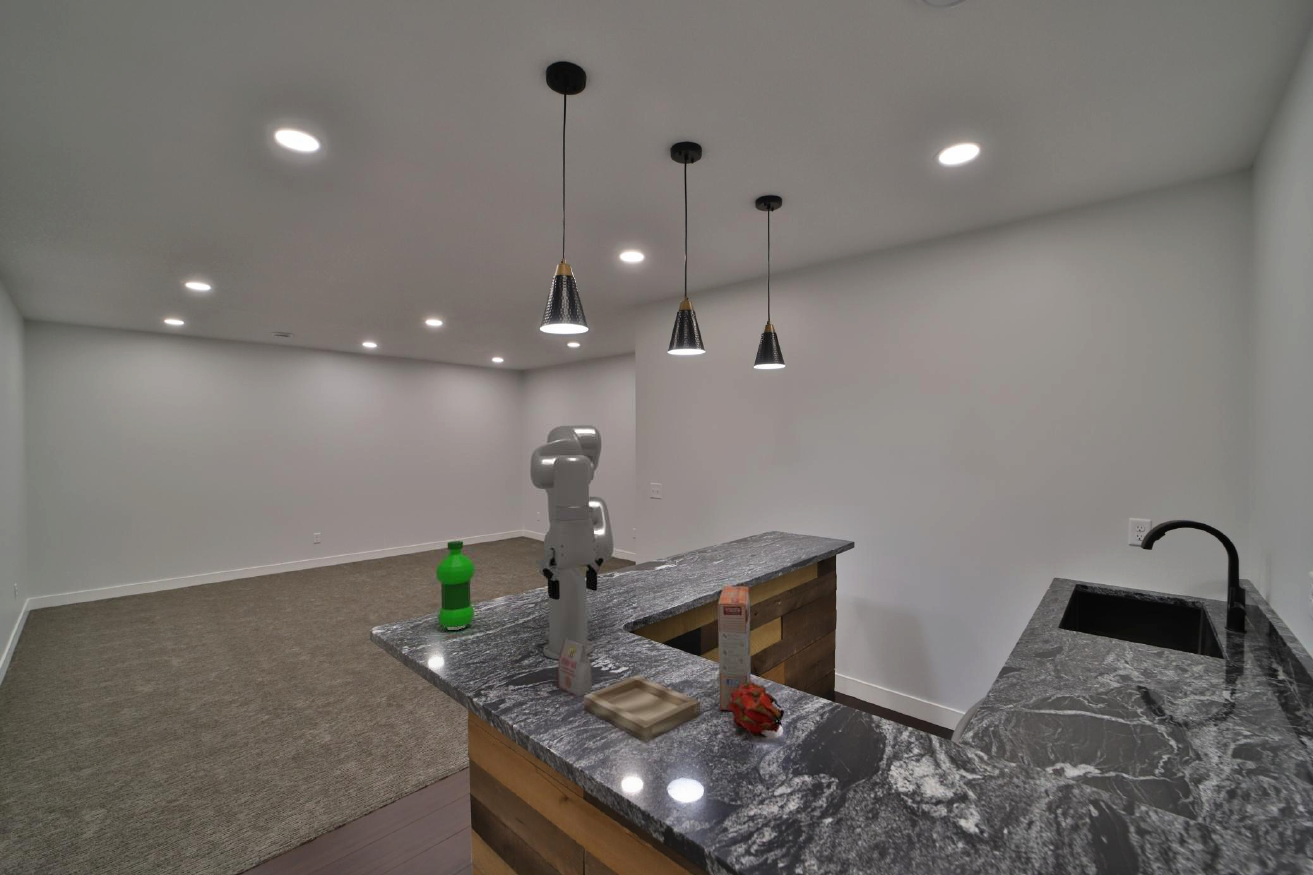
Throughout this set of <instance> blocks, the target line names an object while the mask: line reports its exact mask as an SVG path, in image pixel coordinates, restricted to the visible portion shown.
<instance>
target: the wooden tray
mask: <svg viewBox="0 0 1313 875" xmlns="http://www.w3.org/2000/svg"><path fill="white" fill-rule="evenodd" d="M583 700H584V704H583V705H584V710H586V711H587V712H589V713H591V714H593V715H595V716H596V717H598V718H601V719H602V720H603V721H606V722H607V723H610V724H612V725H613V726H615V727H617V728H618V729H620V730H622V731H624V732H626V733H628V734H629V735H631V736H633V737H635V738H637V739H638V740H640V741H643V742H644V743H647V742H650V741H651V740H653V739H656V738H657V737H659V736H662V735H664V734H665V733H667V732H669V731H671V730H673V729H675V728H677V727H679V726H681V725H683V724H685V723H687V722H689V721H691V720H693V719H695V718H698V716H700V715H701V701H699V700H697V699H695V698H692V697H690V696H689V695H685V694H682V693H681V692H678V691H676V690H674V689H672V688H670V687H669V688H668V687H667V686H663V685H662V684H660V683H657V682H655V681H653V680H650V679H648V678H645V677H643V676H640V675H634V676H633V677H629V678H627V679H624V680H622V681H619V682H616V683H615V684H611V685H609V686H606V687H604V688H602V689H599V690H597V691H594V692H591V693H587V694H585V695H584V696H583Z"/></svg>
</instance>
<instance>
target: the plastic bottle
mask: <svg viewBox="0 0 1313 875" xmlns="http://www.w3.org/2000/svg"><path fill="white" fill-rule="evenodd" d="M463 548H464V541H461V540H460V541H459V540H457V541H456V540H455V541H449V542H447V550H449V554H448V555H447V556H446V557H445V558H444V559H443V560H442V561H441V562H440V563H439V564H438V565H437V568H436V570H435V574H436V579H437V580H438V581H439V583H440V584H441V585H440V586H441V590H440V592H441V593H440V594H441V608H440V610H439V613H440V614H439V613H438V618H437V619H438V622H439V624H440V625H441V626H442V625H443V626H445V627H458V626H463V625H466V624H468V625H469V624H470V623H471V621H472V620H473V619H474V616H475V610H474V608H473V605H472V604H471V579H472V578H473V577H474V575H475V570H476V569H475V564H474V562H473V561H472V560H470V558H468V557H467V556H465V555H464V554H463V553H462V549H463ZM443 626H442V627H443ZM445 627H444V628H445Z"/></svg>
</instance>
